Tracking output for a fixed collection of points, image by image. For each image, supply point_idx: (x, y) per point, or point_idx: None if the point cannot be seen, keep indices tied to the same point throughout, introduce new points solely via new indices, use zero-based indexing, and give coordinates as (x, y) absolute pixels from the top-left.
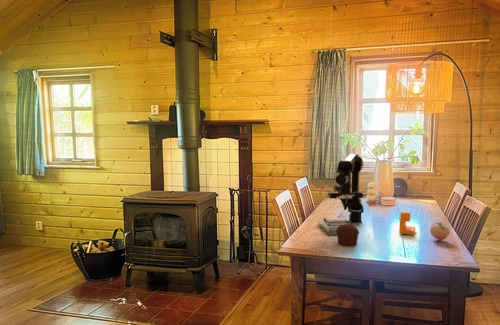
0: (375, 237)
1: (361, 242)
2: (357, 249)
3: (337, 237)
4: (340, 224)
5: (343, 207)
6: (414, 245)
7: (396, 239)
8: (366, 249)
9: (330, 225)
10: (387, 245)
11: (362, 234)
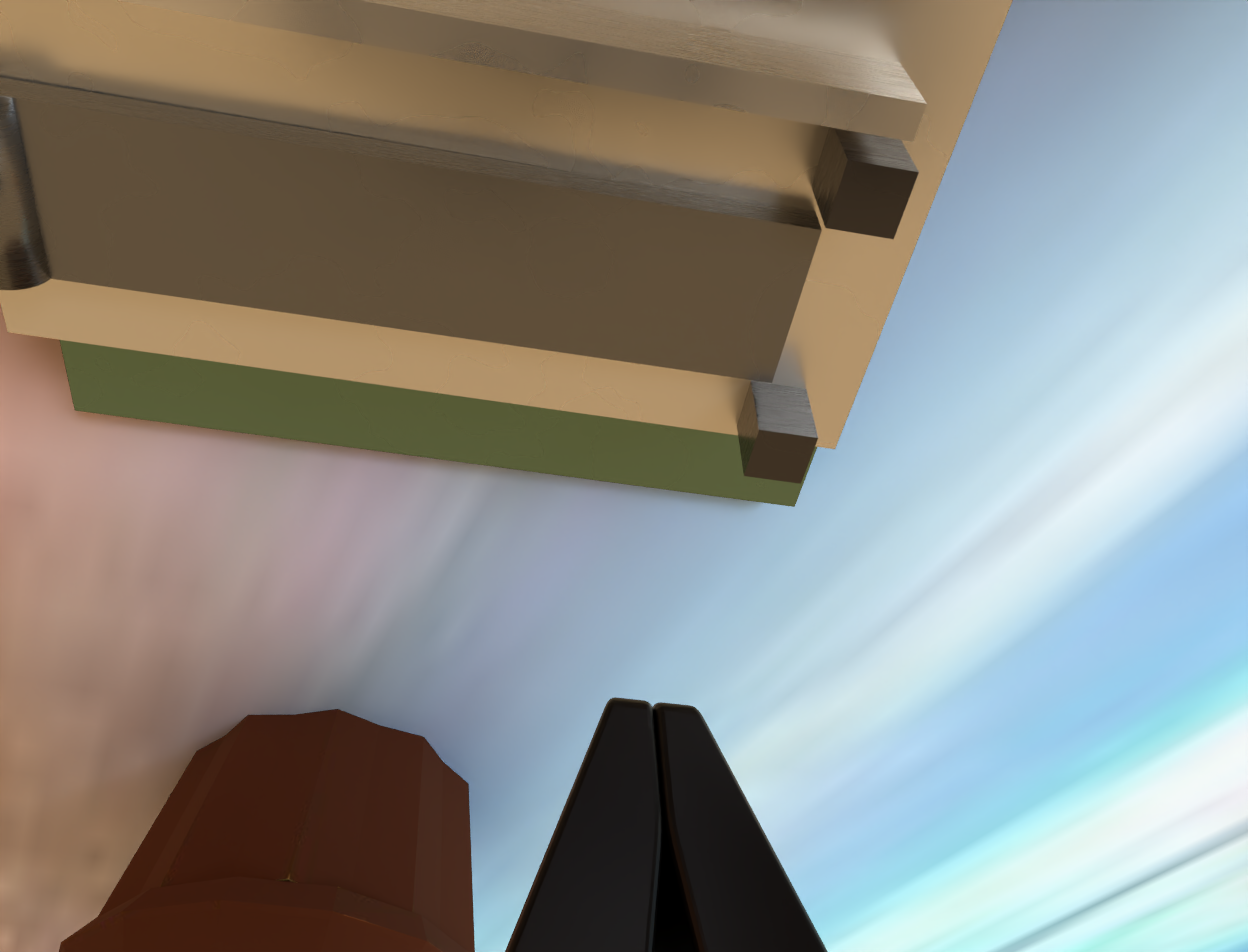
0: (1006, 656)
1: None
2: None
3: (143, 844)
4: (448, 312)
5: (562, 814)
6: (1175, 945)
7: (1224, 781)
8: (508, 936)
9: (71, 272)
10: (862, 900)
11: (924, 463)
